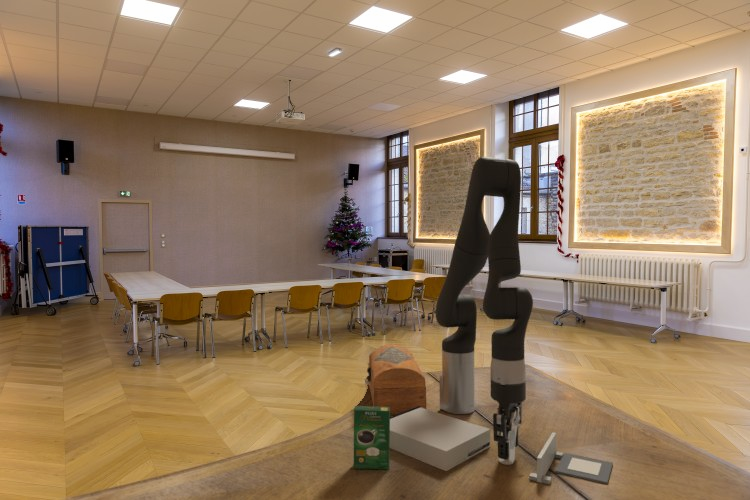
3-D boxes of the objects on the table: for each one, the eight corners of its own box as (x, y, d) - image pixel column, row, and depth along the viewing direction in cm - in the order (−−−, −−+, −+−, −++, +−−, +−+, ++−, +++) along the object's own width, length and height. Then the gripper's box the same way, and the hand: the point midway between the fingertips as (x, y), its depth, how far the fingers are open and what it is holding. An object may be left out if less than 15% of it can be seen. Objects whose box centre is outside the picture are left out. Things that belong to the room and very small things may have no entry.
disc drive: (418, 423, 134) (418, 405, 134) (491, 448, 118) (490, 427, 118) (372, 443, 122) (372, 423, 121) (445, 473, 105) (445, 450, 105)
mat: (555, 472, 104) (555, 470, 104) (564, 454, 113) (564, 452, 113) (607, 484, 99) (607, 481, 99) (612, 464, 108) (612, 462, 108)
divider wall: (529, 480, 101) (529, 455, 101) (545, 452, 114) (545, 430, 114) (549, 484, 99) (549, 460, 99) (563, 456, 112) (563, 434, 112)
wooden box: (365, 384, 169) (365, 344, 168) (413, 383, 169) (413, 343, 169) (368, 416, 139) (367, 367, 138) (426, 415, 139) (426, 366, 139)
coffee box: (391, 464, 109) (390, 405, 109) (390, 470, 106) (389, 410, 106) (354, 463, 110) (353, 405, 109) (353, 469, 107) (352, 409, 106)
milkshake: (521, 467, 107) (521, 421, 107) (496, 465, 108) (496, 420, 108) (520, 458, 111) (519, 414, 111) (495, 456, 112) (495, 412, 112)
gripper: (500, 367, 117) (501, 437, 118) (480, 383, 105) (481, 460, 105) (533, 372, 113) (533, 443, 114) (516, 389, 101) (516, 469, 101)
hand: (508, 451), depth 109 cm, fingers open, 7 cm apart
